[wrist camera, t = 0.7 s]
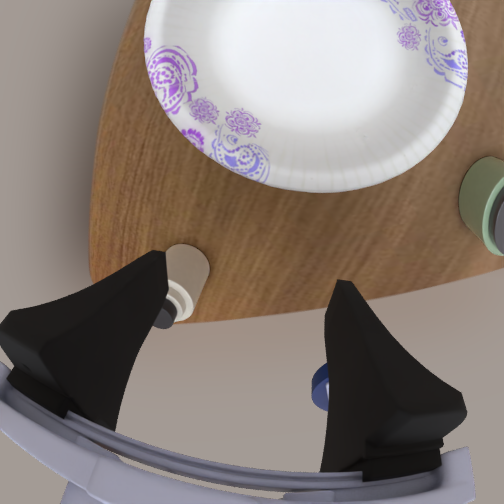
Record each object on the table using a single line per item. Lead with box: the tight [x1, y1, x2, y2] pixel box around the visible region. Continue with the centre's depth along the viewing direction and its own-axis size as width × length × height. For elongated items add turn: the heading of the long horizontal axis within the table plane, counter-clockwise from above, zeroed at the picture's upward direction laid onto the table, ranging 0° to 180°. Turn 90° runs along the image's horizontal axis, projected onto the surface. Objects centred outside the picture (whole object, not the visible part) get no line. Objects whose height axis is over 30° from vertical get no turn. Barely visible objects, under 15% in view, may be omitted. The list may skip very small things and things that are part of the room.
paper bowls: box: [144, 0, 468, 193], centre depth 11 cm, size 15×15×8 cm
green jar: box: [459, 156, 504, 256], centre depth 15 cm, size 7×7×5 cm
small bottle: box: [153, 244, 210, 329], centre depth 22 cm, size 4×4×7 cm
